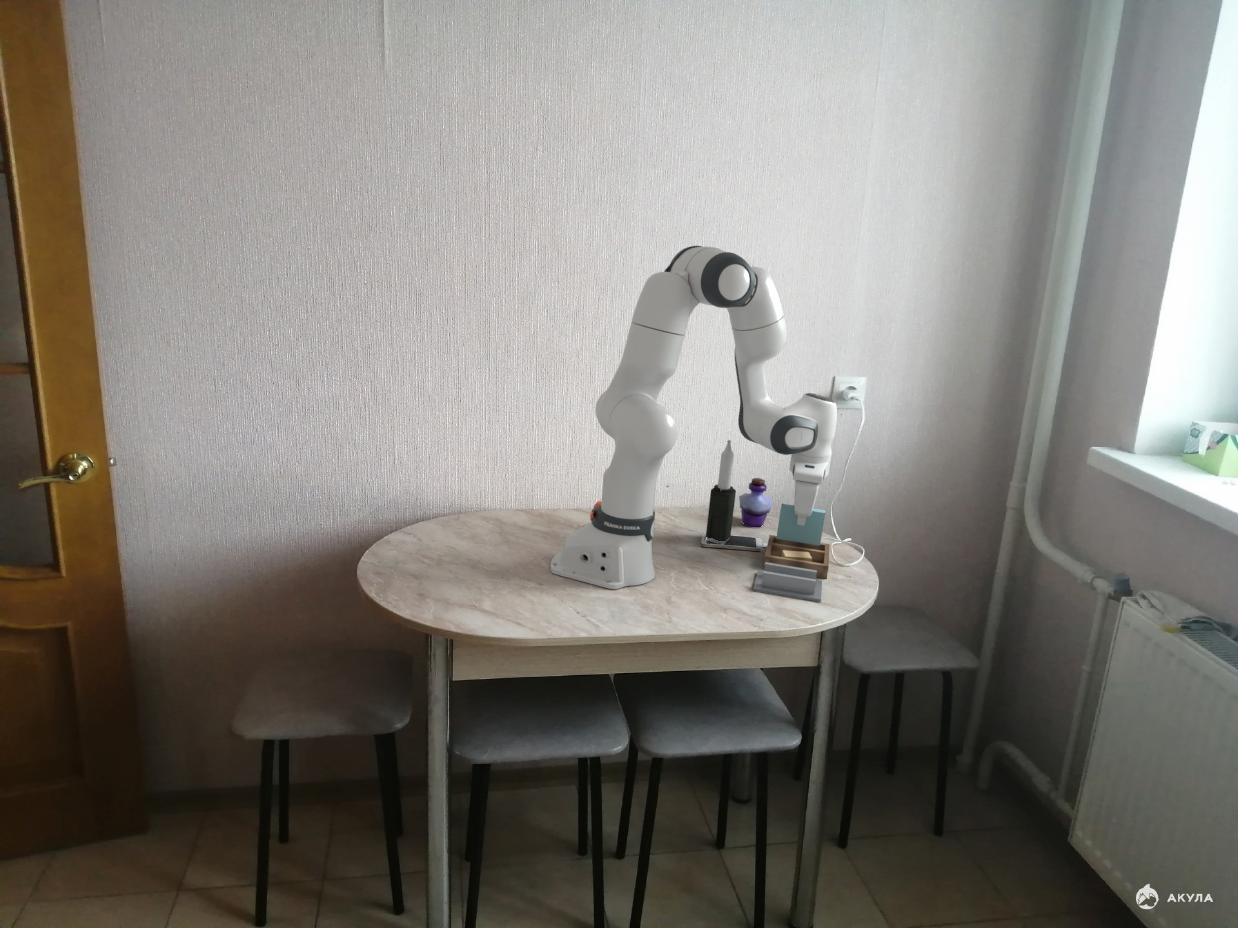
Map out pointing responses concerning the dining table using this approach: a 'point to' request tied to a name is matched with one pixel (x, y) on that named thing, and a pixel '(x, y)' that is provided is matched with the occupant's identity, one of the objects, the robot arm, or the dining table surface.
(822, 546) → the rack
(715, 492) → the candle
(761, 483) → the potion bottle
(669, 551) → the dining table surface
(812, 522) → the teal flat block
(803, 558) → the upper offcut
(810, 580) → the slate stand
